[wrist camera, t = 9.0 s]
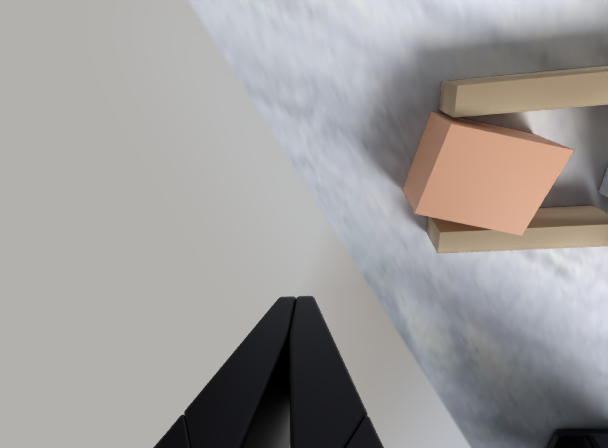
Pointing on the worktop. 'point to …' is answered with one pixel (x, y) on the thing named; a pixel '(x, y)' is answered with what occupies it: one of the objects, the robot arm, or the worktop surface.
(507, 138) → the salmon pink cuboid
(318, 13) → the worktop surface
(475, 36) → the worktop surface
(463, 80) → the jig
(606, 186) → the pale blue channel
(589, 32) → the worktop surface
